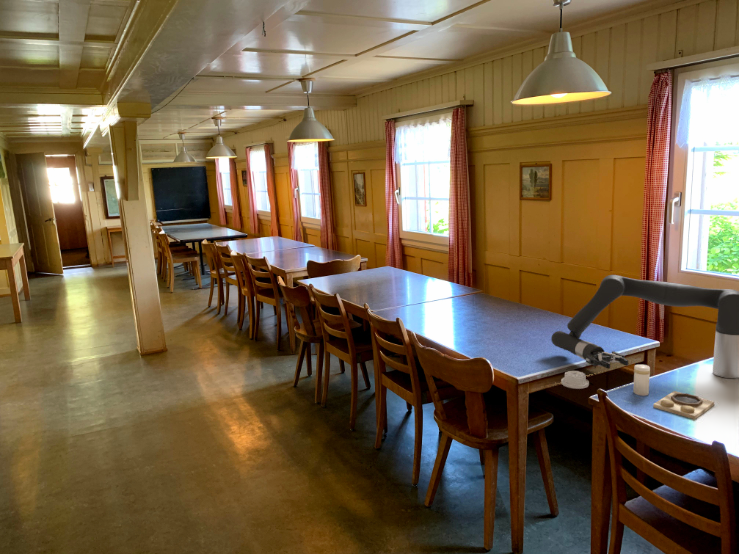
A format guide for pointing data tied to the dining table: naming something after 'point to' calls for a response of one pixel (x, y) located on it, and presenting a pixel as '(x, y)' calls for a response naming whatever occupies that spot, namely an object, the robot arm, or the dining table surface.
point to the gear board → (684, 404)
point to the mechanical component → (575, 380)
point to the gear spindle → (641, 379)
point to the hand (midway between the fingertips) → (618, 364)
